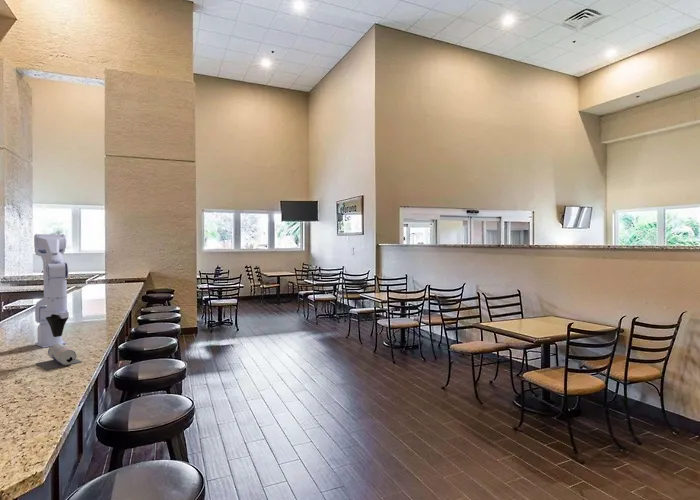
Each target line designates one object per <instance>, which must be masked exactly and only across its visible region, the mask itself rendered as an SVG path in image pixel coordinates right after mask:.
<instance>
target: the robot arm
mask: <svg viewBox="0 0 700 500" xmlns="http://www.w3.org/2000/svg"><path fill="white" fill-rule="evenodd" d="M33 245H34V246H33V247H34V253H35V256H39V257H41V260H42V266H43V267H42V268H43V269H42V272H43V297H42V298H41V299H39V300H38V301H37V302H36V304H35V309H34V317H35V318H34V320H35V322H36V323H37V324H39V325H38V326H37V328H36V330H37V342H34V345H36V346H38V347H41V348H50V347H51V346H52V345H54V344H57V343H61V344H63V345H65V344H67V341H65V340H63V338H64V337H63V332H64V328H65V326H66V323H67V321H68V320H69V316H70V315H69V314H70V312H69V310H68V298H67V297H68V288H67V287H68V286H67V285H68V284H67V283H68V281H67V280H68V278H69V265H68V263H67V262H66V261H65V257H64V253H65V252H66V248H67V237H66V235H65V234H64V233H62V234H58V233H57V234H56V233H55V234H54V233H53V234H49V233H35V234H34V236H33Z"/></svg>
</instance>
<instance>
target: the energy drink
mask: <svg viewBox="0 0 700 500" xmlns="http://www.w3.org/2000/svg"><path fill="white" fill-rule="evenodd" d="M47 356H48V357H49V358H50V359H51V360H55V361H57V362H58V363H60V364H62V365H67V366H70V365H69V364H71V363H73V362H74V361H75V359H77V351H76V350H74V349H72V348H71V347H69V346H67V345H65V344H61V343H57V344H54V345H52V346H50V347H48V349H47Z"/></svg>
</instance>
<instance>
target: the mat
mask: <svg viewBox="0 0 700 500" xmlns="http://www.w3.org/2000/svg"><path fill="white" fill-rule="evenodd" d="M82 362H83V361H82V360H80V359H78V358H76V359H75V361H74V362H73V363H71V364H72V365H75V364H80V363H82ZM71 364H69V365H62V364H60V363H58V362H57V361H55V360H54V359H49V360H46V361H40V362H37V363H35V365H36V366H39V367H41V368H42V369H45V370H46V371H49V370H52V369H58V368H62V367H68V366H71Z"/></svg>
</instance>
